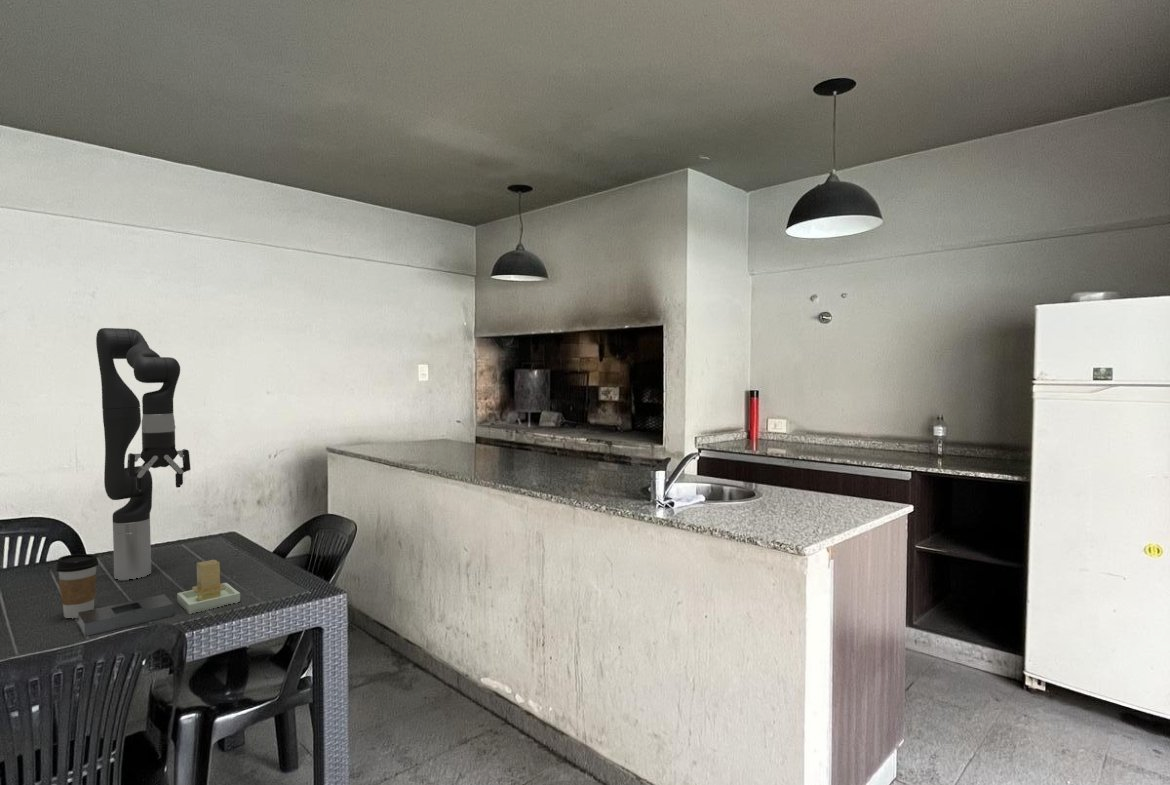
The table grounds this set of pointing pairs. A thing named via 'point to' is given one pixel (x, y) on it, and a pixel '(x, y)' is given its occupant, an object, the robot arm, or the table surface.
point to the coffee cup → (77, 583)
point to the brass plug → (208, 580)
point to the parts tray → (193, 605)
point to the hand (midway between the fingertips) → (159, 489)
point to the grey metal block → (125, 614)
